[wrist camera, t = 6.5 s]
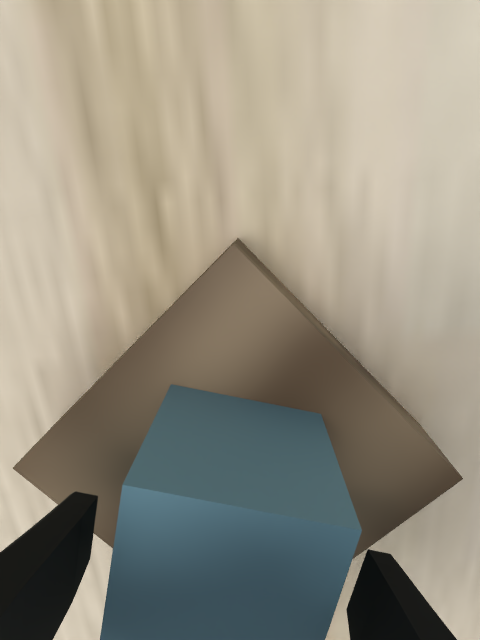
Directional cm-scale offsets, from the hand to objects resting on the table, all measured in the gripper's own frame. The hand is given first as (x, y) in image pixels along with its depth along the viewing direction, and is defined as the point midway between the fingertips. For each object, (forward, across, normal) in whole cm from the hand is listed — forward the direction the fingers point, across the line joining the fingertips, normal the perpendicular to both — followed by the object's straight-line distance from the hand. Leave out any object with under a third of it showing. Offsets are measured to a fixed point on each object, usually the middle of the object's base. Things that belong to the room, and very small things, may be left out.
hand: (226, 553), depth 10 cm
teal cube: (+3, 0, 0) cm, 3 cm away
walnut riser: (+7, 0, 0) cm, 7 cm away
